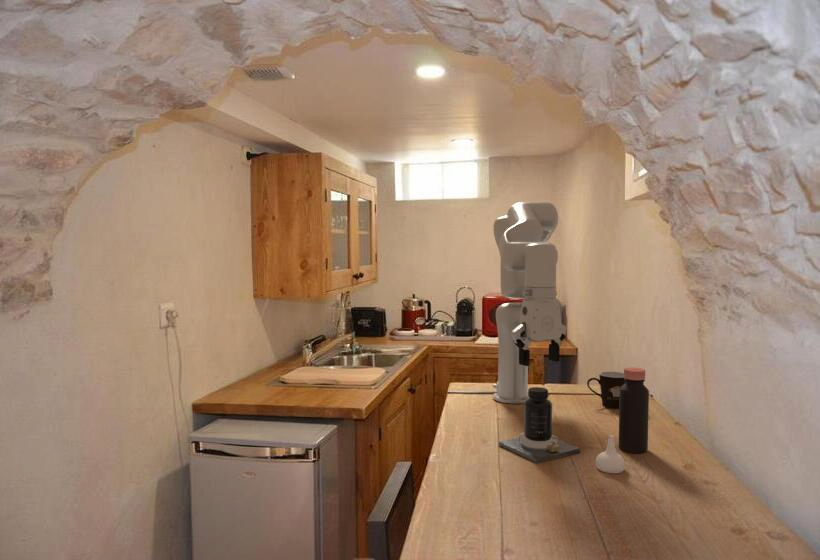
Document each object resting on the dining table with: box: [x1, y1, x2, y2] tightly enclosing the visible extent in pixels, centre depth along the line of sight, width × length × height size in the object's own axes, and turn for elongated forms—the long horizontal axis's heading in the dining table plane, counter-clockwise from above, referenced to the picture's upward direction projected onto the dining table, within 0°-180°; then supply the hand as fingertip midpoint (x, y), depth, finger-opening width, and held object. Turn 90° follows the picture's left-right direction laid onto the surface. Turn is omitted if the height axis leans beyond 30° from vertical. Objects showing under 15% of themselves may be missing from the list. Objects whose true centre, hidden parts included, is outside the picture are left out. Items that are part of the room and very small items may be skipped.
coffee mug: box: [586, 371, 625, 410], centre depth 187 cm, size 12×9×10 cm
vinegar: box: [618, 367, 650, 454], centre depth 147 cm, size 7×7×20 cm
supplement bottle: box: [523, 386, 553, 441], centre depth 148 cm, size 7×7×12 cm
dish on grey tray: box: [498, 432, 581, 464], centre depth 148 cm, size 14×14×3 cm
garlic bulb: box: [595, 434, 626, 474], centre depth 135 cm, size 6×6×8 cm
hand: (539, 362), depth 147 cm, fingers open, 9 cm apart
